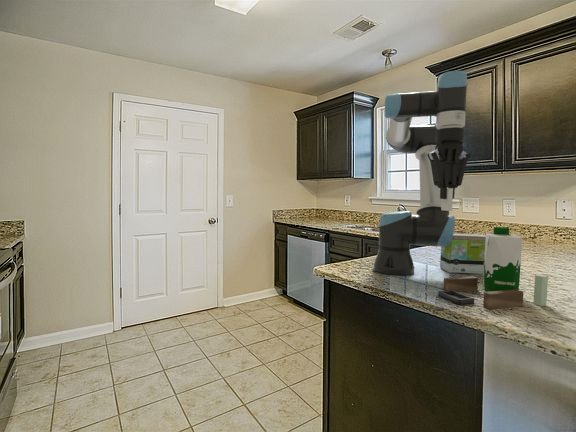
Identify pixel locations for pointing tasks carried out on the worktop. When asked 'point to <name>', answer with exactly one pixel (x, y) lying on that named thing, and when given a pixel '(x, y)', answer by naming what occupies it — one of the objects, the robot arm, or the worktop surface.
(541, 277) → the gate
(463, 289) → the channel
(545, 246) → the worktop surface
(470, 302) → the pit tray
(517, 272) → the soya milk
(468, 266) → the tea box
